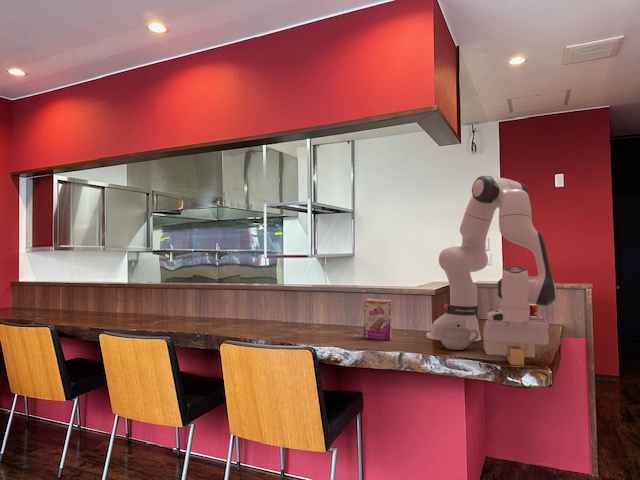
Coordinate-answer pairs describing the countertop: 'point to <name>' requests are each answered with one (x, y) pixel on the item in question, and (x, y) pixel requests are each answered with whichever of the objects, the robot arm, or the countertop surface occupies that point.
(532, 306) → the paper cup
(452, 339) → the teacup
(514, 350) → the stub
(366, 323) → the candy bar box
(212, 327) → the countertop surface
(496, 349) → the ticket block
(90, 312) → the countertop surface
